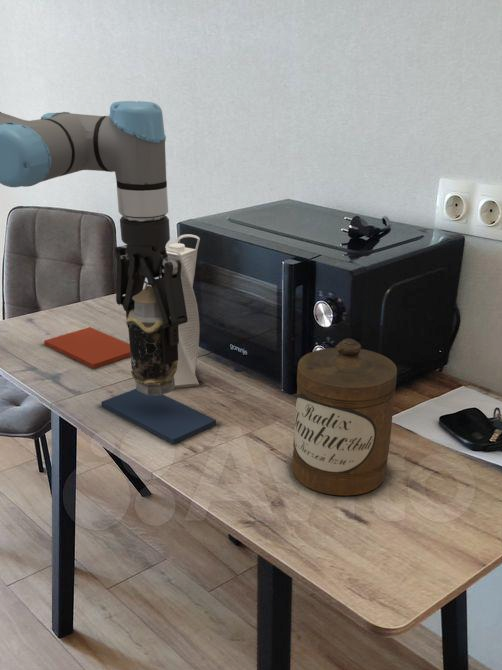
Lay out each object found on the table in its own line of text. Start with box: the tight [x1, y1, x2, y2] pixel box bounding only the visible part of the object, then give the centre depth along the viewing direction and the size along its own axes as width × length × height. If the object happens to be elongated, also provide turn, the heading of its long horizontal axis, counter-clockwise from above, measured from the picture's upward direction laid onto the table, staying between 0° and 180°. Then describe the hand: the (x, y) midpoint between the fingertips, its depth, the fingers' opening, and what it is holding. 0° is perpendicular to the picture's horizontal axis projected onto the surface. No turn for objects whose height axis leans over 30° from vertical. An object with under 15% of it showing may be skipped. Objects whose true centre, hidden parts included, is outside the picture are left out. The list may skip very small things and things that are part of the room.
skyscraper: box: [160, 233, 201, 389], centre depth 132 cm, size 8×8×28 cm
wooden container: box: [292, 338, 398, 496], centre depth 106 cm, size 15×15×22 cm
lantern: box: [125, 266, 178, 395], centre depth 117 cm, size 9×8×25 cm
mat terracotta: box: [43, 326, 131, 369], centre depth 152 cm, size 18×12×1 cm, turn 48°
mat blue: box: [100, 388, 217, 445], centre depth 126 cm, size 20×10×1 cm, turn 47°
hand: (153, 354), depth 120 cm, fingers closed on lantern, 8 cm apart
